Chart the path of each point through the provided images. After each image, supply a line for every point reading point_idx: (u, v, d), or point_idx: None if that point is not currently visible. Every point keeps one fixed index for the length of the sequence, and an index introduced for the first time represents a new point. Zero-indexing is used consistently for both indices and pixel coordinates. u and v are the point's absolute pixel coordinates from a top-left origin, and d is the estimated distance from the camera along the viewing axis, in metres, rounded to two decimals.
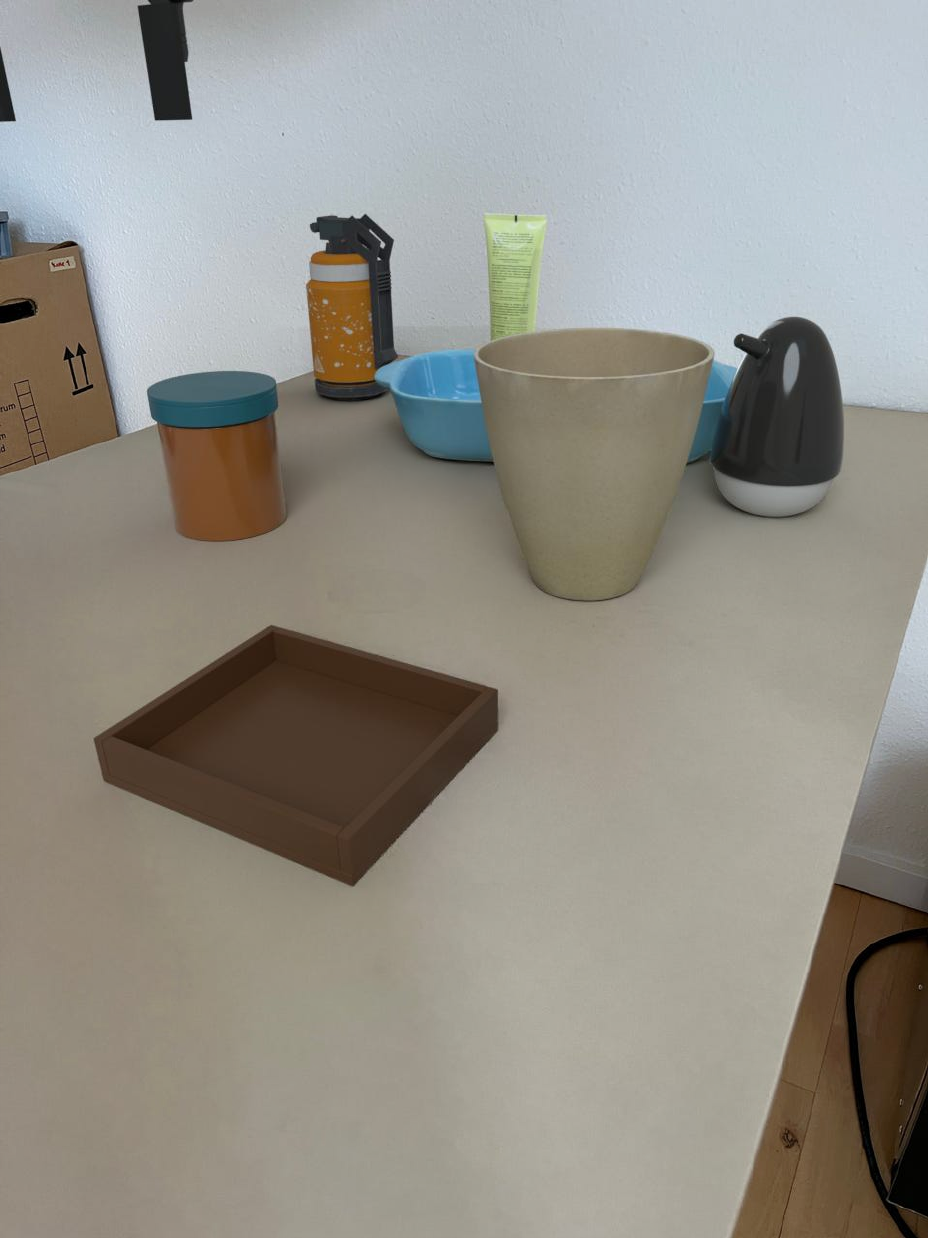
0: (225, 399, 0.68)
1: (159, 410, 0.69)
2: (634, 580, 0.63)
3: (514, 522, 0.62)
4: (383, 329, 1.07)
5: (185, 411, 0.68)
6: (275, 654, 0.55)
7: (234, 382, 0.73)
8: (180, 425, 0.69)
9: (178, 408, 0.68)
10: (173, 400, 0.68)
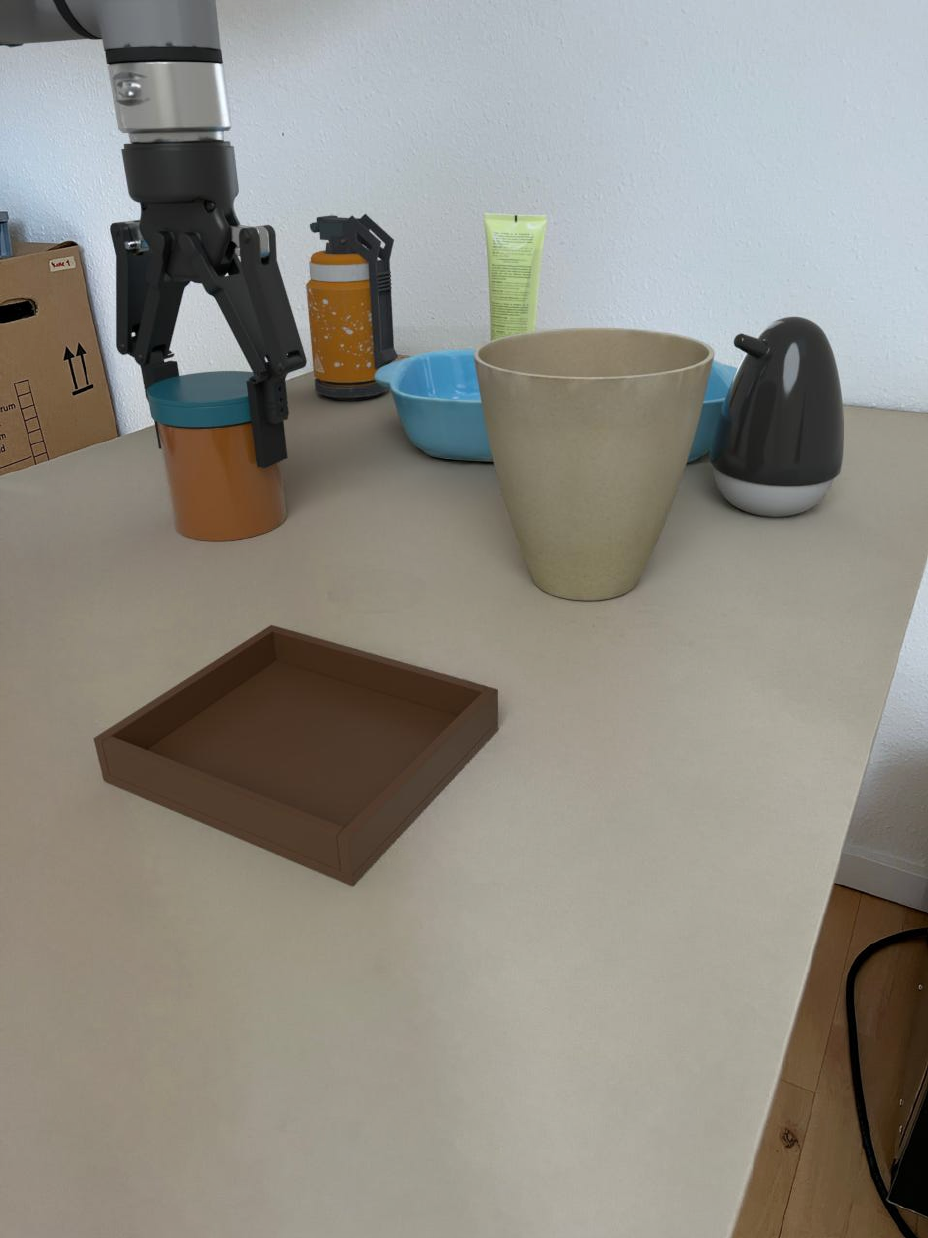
0: (225, 399, 0.68)
1: (159, 410, 0.69)
2: (634, 580, 0.63)
3: (514, 522, 0.62)
4: (383, 329, 1.07)
5: (185, 411, 0.68)
6: (275, 654, 0.55)
7: (234, 382, 0.73)
8: (180, 425, 0.69)
9: (178, 408, 0.68)
10: (173, 400, 0.68)
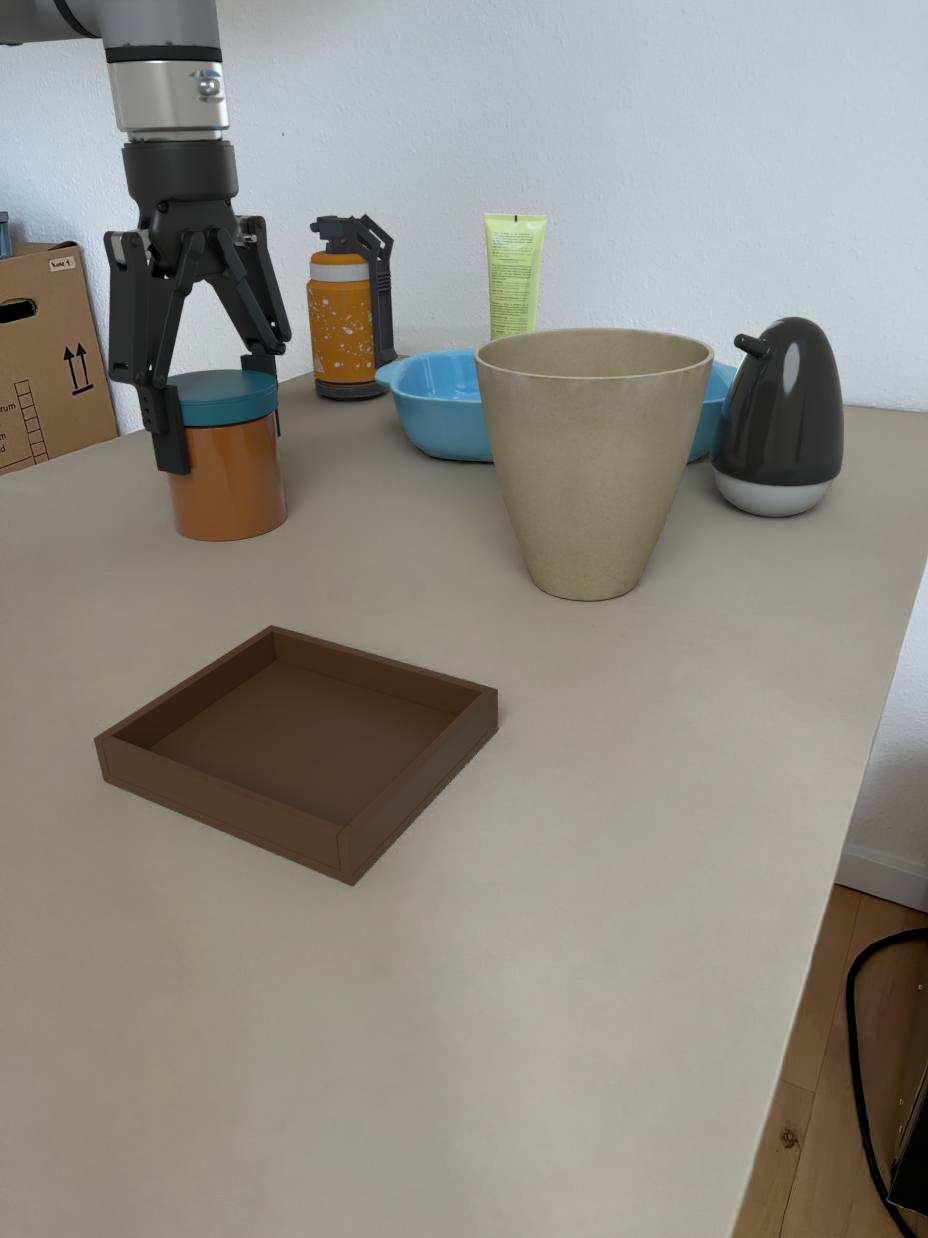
0: (271, 377, 0.74)
1: (252, 405, 0.70)
2: (634, 580, 0.63)
3: (514, 522, 0.62)
4: (383, 329, 1.07)
5: (272, 395, 0.72)
6: (275, 654, 0.55)
7: (207, 379, 0.74)
8: (270, 411, 0.72)
9: (269, 394, 0.71)
10: (263, 389, 0.71)
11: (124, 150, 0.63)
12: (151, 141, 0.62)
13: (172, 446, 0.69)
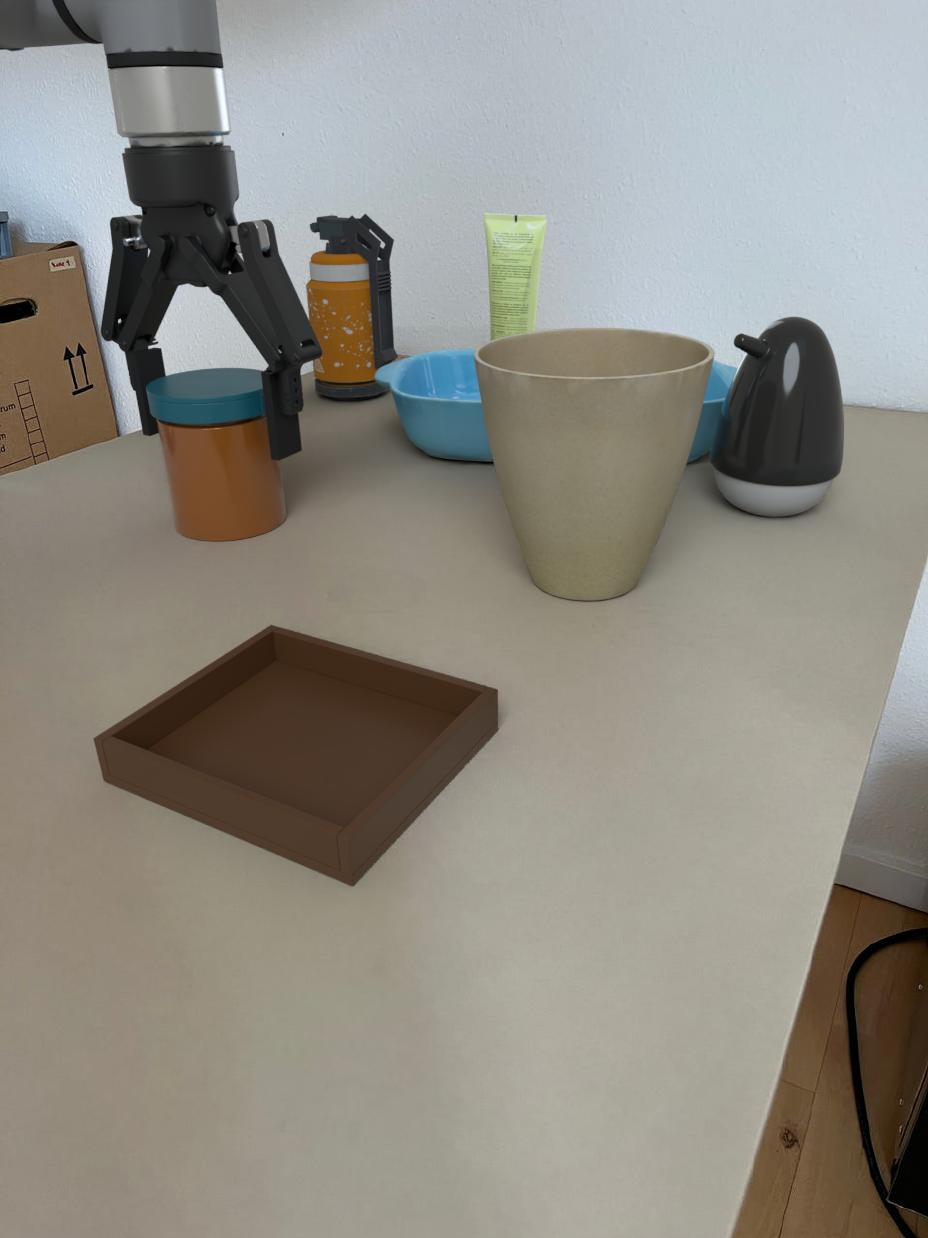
0: (200, 369, 0.76)
1: None
2: (634, 580, 0.63)
3: (514, 522, 0.62)
4: (383, 329, 1.07)
5: None
6: (275, 654, 0.55)
7: (188, 384, 0.71)
8: None
9: None
10: (247, 369, 0.76)
11: (200, 154, 0.62)
12: (217, 145, 0.64)
13: (293, 425, 0.71)
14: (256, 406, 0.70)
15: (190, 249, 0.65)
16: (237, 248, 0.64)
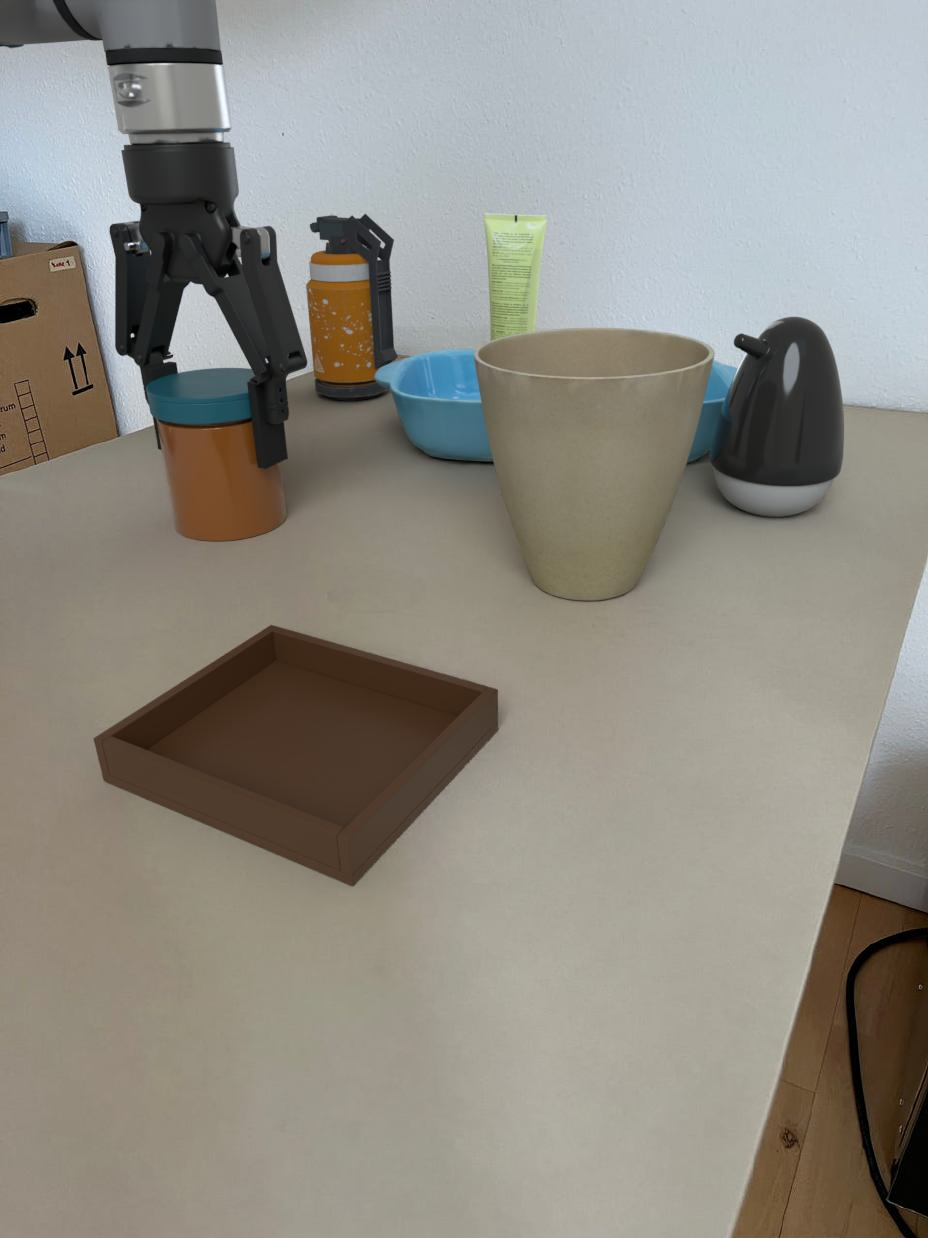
0: (200, 369, 0.76)
1: None
2: (634, 580, 0.63)
3: (514, 522, 0.62)
4: (383, 329, 1.07)
5: None
6: (275, 654, 0.55)
7: (188, 384, 0.71)
8: None
9: None
10: (247, 369, 0.76)
11: None
12: None
13: None
14: None
15: None
16: None
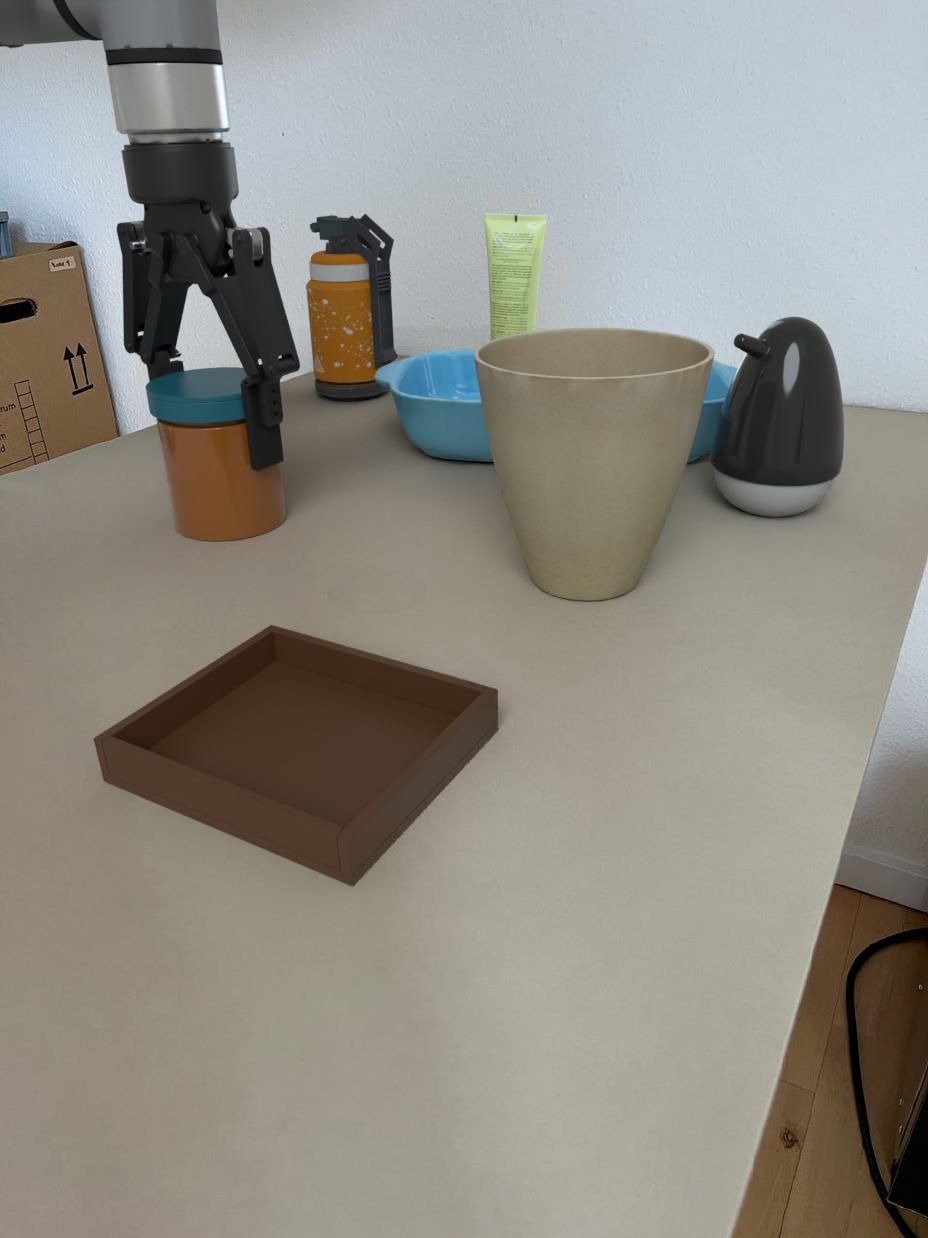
0: (216, 396, 0.68)
1: (153, 404, 0.70)
2: (634, 580, 0.63)
3: (514, 522, 0.62)
4: (383, 329, 1.07)
5: (176, 406, 0.68)
6: (275, 654, 0.55)
7: (234, 379, 0.73)
8: (172, 420, 0.69)
9: (170, 403, 0.68)
10: (165, 395, 0.69)
11: (195, 151, 0.62)
12: (215, 141, 0.63)
13: (274, 436, 0.71)
14: None
15: (186, 246, 0.65)
16: (229, 253, 0.64)
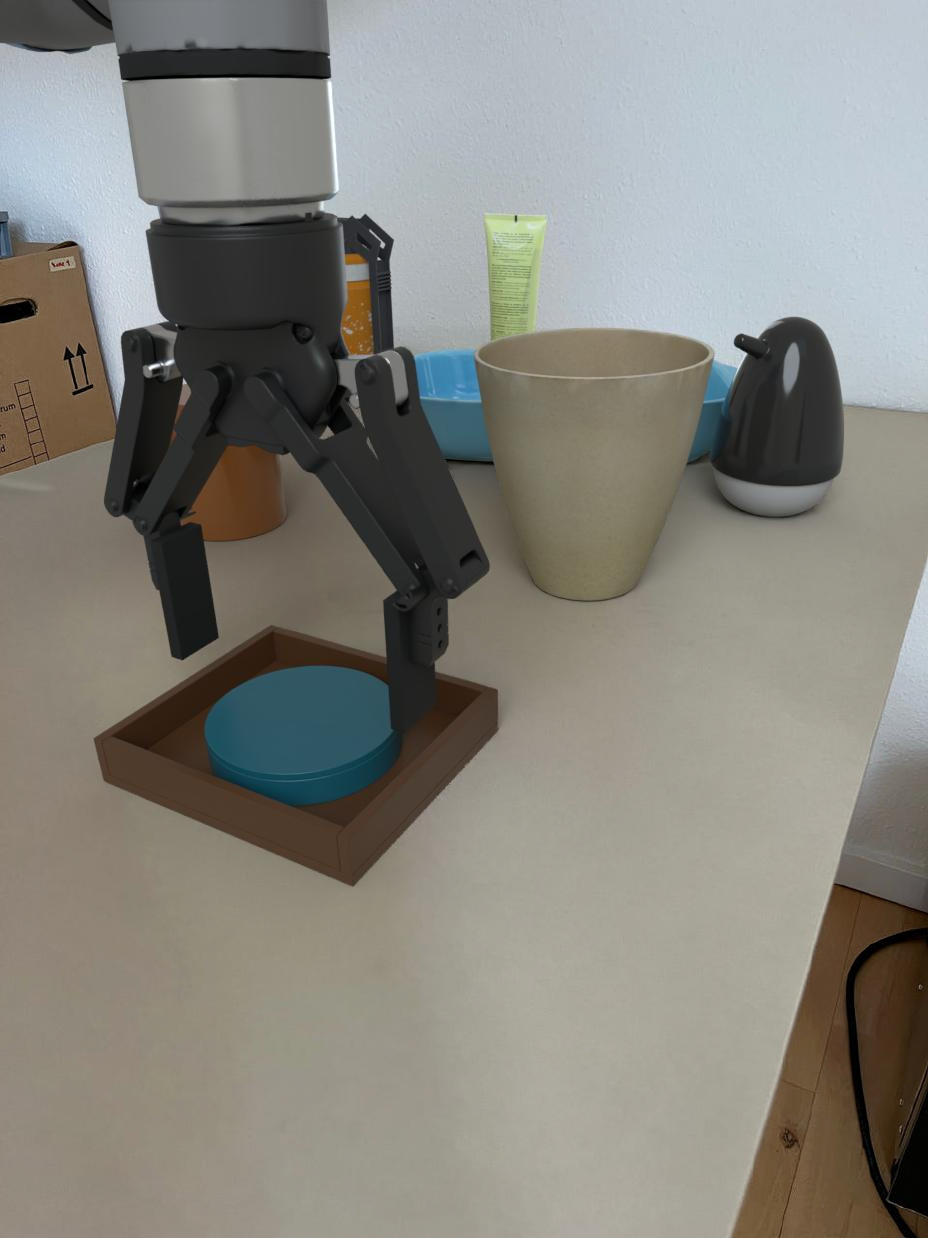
0: (329, 766, 0.43)
1: (224, 773, 0.44)
2: (634, 580, 0.63)
3: (514, 522, 0.62)
4: (383, 329, 1.07)
5: (266, 785, 0.43)
6: (275, 654, 0.55)
7: (336, 706, 0.48)
8: None
9: (255, 780, 0.43)
10: (247, 766, 0.43)
11: (291, 238, 0.34)
12: (318, 217, 0.36)
13: (427, 672, 0.43)
14: None
15: (265, 398, 0.37)
16: (352, 401, 0.36)
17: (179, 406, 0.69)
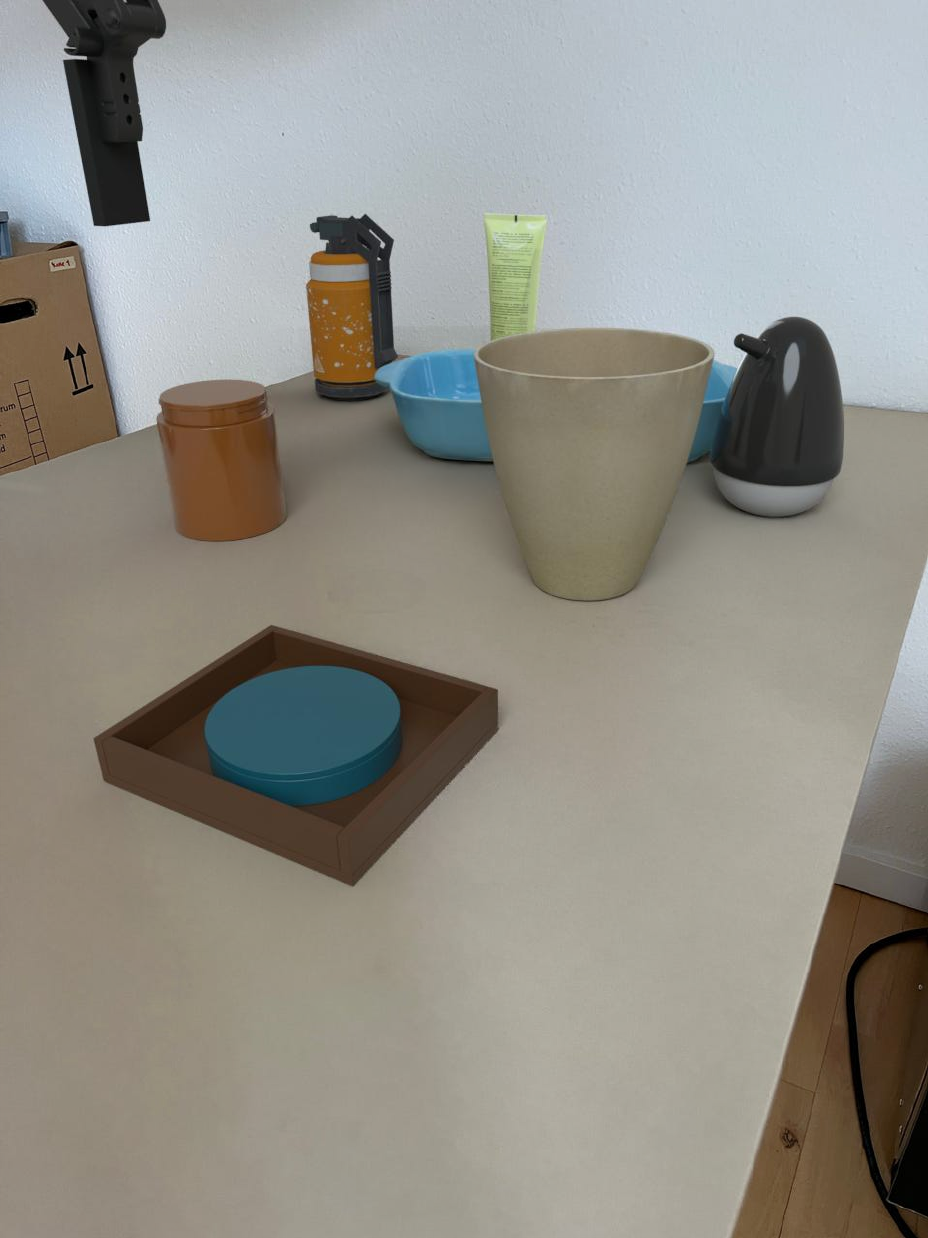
0: (329, 766, 0.43)
1: (224, 773, 0.44)
2: (634, 580, 0.63)
3: (514, 522, 0.62)
4: (383, 329, 1.07)
5: (266, 785, 0.43)
6: (275, 654, 0.55)
7: (336, 706, 0.48)
8: None
9: (255, 780, 0.43)
10: (247, 766, 0.43)
11: None
12: None
13: (131, 171, 0.43)
14: None
15: None
16: None
17: (179, 406, 0.69)
